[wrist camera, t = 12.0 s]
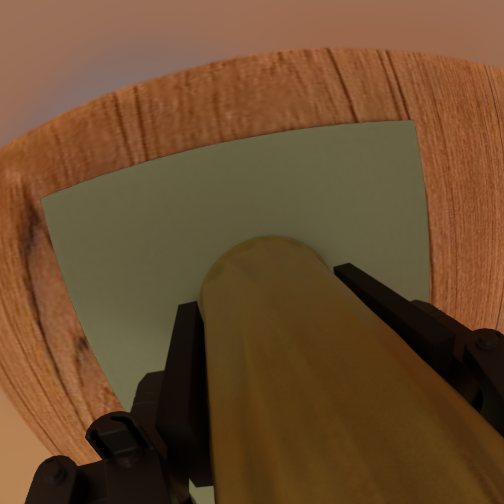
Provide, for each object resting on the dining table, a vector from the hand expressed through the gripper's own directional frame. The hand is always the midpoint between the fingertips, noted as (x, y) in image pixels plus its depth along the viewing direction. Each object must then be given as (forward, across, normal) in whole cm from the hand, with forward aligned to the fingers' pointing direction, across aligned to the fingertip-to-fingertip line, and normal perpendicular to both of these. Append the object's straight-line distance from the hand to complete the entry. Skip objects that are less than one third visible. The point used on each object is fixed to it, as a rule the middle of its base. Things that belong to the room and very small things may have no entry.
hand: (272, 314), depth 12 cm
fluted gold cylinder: (+2, 0, 0) cm, 2 cm away
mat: (+2, 0, -6) cm, 6 cm away
